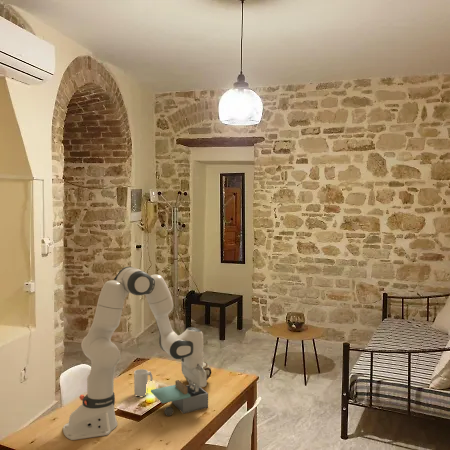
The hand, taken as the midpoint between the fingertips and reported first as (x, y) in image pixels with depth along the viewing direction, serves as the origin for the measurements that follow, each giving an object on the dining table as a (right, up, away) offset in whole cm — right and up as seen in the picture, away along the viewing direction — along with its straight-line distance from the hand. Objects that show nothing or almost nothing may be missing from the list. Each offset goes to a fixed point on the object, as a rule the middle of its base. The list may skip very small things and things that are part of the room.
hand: (193, 389), depth 232 cm
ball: (-11, -8, -11) cm, 18 cm away
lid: (-10, 0, -6) cm, 12 cm away
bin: (-2, -7, -1) cm, 8 cm away
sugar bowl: (0, -6, +26) cm, 27 cm away
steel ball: (0, -2, 0) cm, 2 cm away
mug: (-26, -6, +11) cm, 29 cm away
